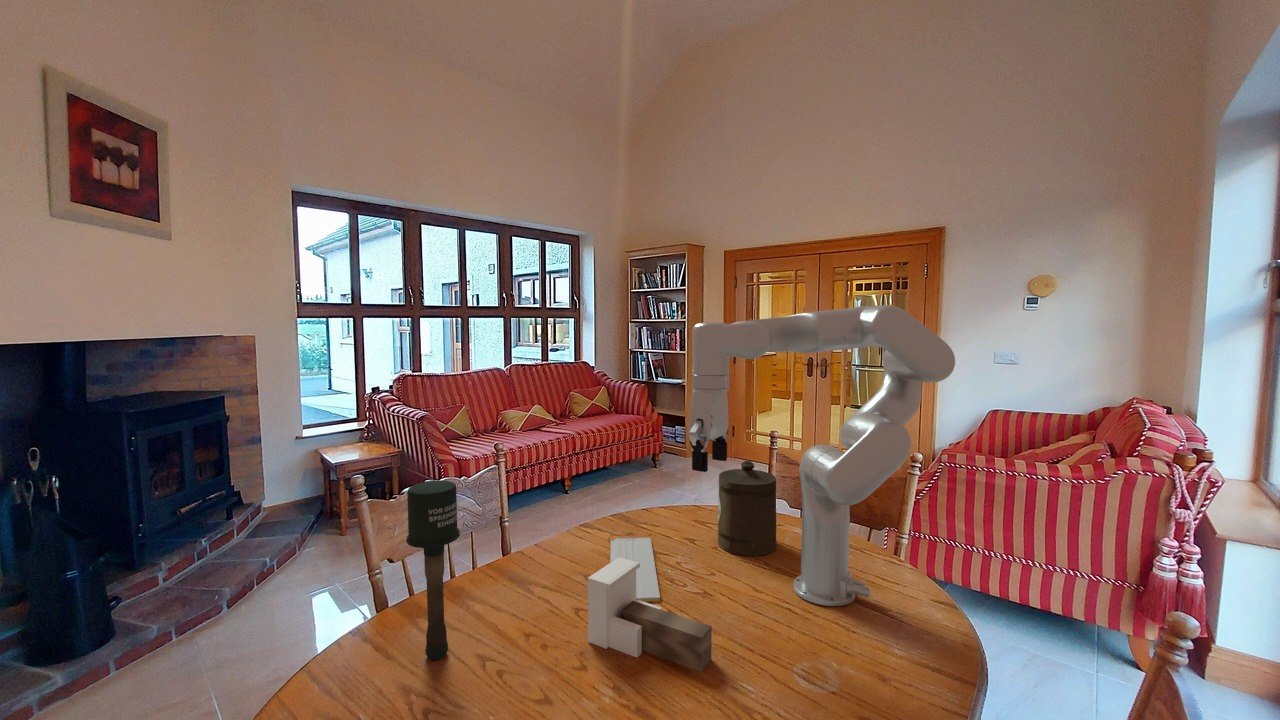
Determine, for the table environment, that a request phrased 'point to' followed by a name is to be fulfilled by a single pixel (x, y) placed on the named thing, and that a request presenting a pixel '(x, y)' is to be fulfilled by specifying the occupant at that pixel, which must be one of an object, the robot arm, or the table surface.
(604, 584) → the white forked bracket
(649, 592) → the baseboard molding
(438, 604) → the potato masher grenade
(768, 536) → the wooden container
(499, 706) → the table surface
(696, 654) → the rail
